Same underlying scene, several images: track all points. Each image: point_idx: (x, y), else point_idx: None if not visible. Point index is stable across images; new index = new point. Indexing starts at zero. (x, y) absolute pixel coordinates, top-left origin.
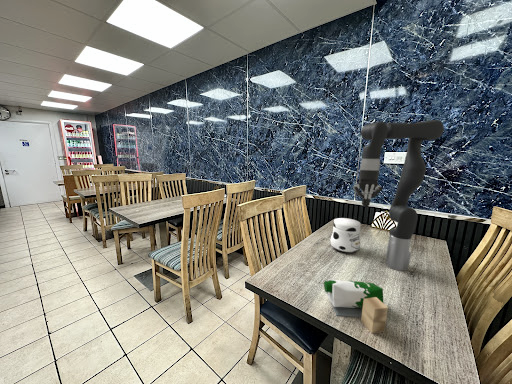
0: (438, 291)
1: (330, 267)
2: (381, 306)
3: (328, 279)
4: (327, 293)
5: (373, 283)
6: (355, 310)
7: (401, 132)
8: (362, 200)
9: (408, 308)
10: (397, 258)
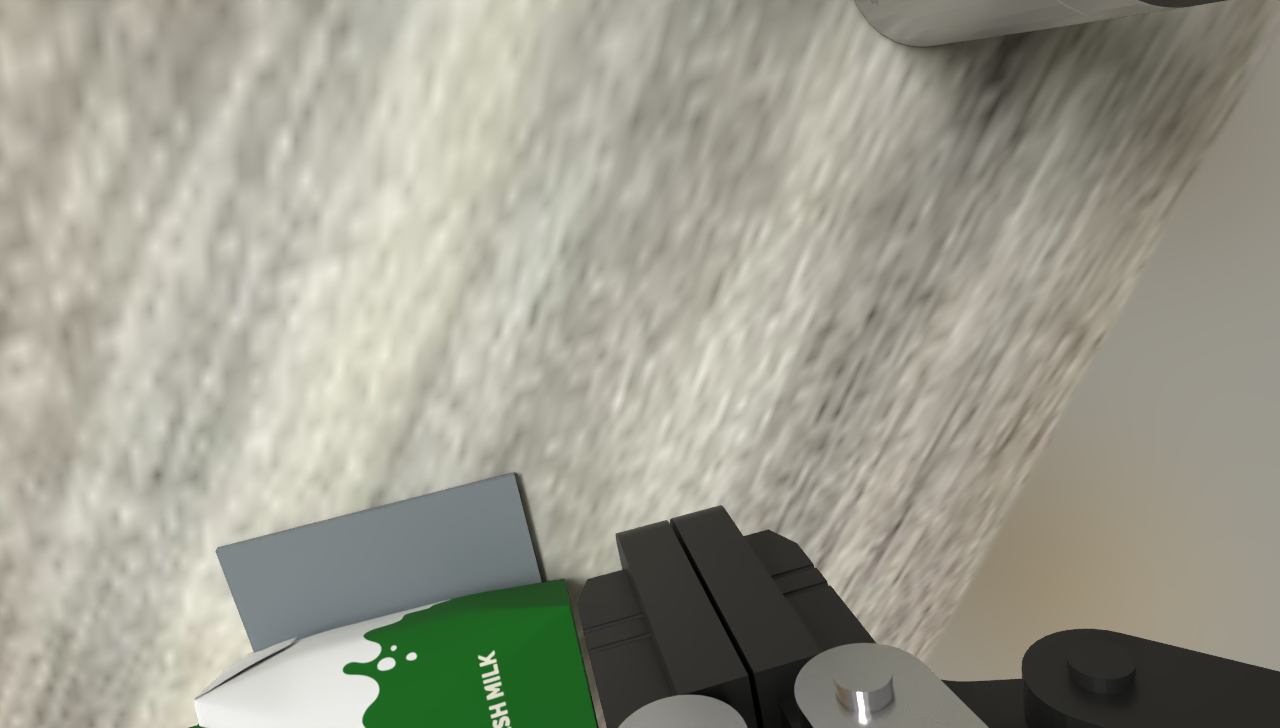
0: (1051, 290)
1: (253, 178)
2: None
3: (196, 701)
4: (236, 602)
5: (568, 614)
6: None
7: None
8: (602, 705)
9: None
10: (961, 31)
